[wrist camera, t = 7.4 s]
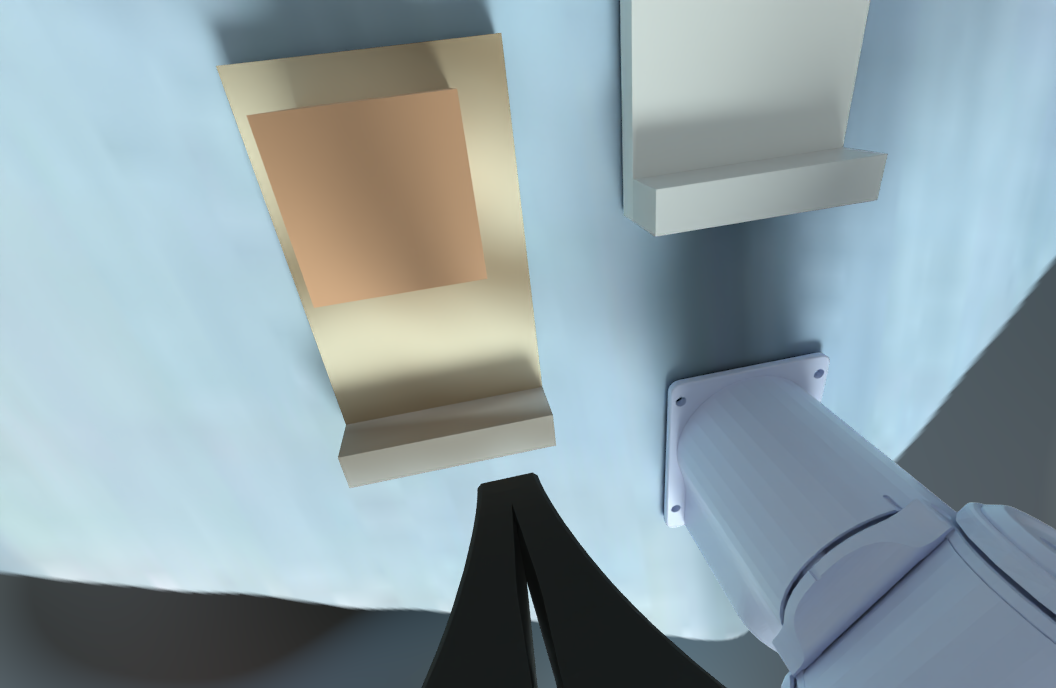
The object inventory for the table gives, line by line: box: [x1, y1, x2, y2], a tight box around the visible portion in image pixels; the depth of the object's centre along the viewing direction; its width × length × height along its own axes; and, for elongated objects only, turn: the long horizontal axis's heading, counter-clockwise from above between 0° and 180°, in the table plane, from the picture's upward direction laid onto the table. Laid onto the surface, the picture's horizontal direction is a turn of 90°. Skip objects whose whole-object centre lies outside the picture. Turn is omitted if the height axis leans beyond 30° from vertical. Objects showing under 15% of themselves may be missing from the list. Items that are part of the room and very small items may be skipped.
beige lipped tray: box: [216, 33, 556, 488], centre depth 17 cm, size 14×8×3 cm, turn 6°
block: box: [246, 88, 487, 308], centre depth 14 cm, size 4×4×4 cm
